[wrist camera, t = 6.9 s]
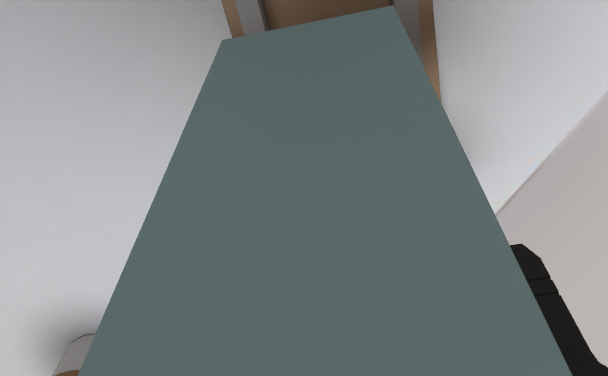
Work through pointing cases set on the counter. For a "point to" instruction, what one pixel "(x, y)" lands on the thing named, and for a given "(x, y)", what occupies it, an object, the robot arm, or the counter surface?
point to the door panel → (321, 227)
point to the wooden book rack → (333, 3)
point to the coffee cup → (74, 357)
